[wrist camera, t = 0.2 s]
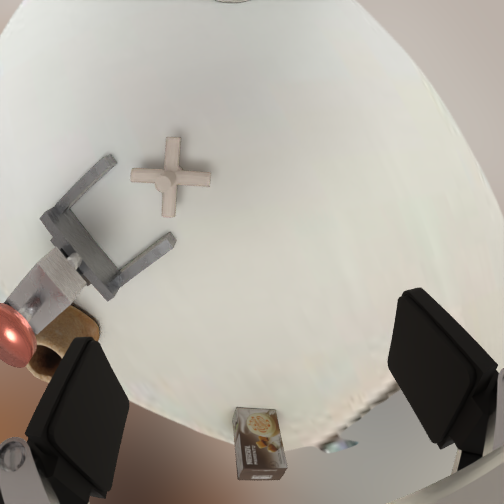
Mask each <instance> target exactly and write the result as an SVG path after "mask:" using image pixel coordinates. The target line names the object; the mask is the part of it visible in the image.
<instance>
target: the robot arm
mask: <svg viewBox="0 0 504 504" xmlns="http://www.w3.org/2000/svg"><path fill="white" fill-rule="evenodd" d="M216 1H221V2H234V3H236V2H244V1H248V0H216ZM497 366H498V364H497V363H496V362H495V361H494V360H493V359H492V358H491V357H490V356H489V355H488V354H487V352H486V351H485V350H484V349H483V348H482V347H481V346H480V345H479V344H478V343H477V342H476V341H475V340H474V339H473V338H472V337H471V336H470V335H469V333H468V332H467V331H466V330H465V329H464V328H463V327H462V326H461V325H460V324H459V323H458V322H457V321H456V320H455V319H454V318H453V317H452V316H451V315H450V314H449V313H448V312H447V311H446V310H444V309H443V308H442V307H441V306H440V305H439V304H438V303H437V302H436V301H435V300H434V299H433V298H432V297H431V296H430V295H429V294H428V293H427V292H426V291H424V290H423V289H422V288H415V289H411V290H407V291H404V292H403V294H402V296H401V297H399V299H398V303H397V310H396V317H395V323H394V329H393V335H392V340H391V346H390V351H389V356H388V367H389V370H390V372H391V373H392V375H393V377H394V378H395V380H396V382H397V383H398V385H399V386H400V388H401V390H402V391H403V393H404V395H405V396H406V398H407V400H408V402H409V403H410V405H411V407H412V408H413V410H414V412H415V414H416V415H417V417H418V419H419V420H420V422H421V424H422V425H423V427H424V429H425V431H426V433H427V434H428V437H429V438H430V440H431V441H432V442H433V443H437V445H438V446H439V448H440V449H443V448H445V447H447V446H449V445H451V444H453V443H455V444H456V446H457V448H458V449H457V453H456V458H455V462H454V466H453V469H452V473H451V475H450V476H448V477H446V478H444V479H442V480H440V481H438V482H436V483H434V484H432V485H429V486H428V487H425V488H423V489H421V490H419V491H416V492H414V493H412V494H409V495H407V496H405V497H402V498H399V499H397V500H394V501H392V502H389V503H386V504H504V368H503V369H502V370H501V371H500V373H498V372H497V370H496V368H497ZM128 410H129V400H128V397H127V396H126V394H125V392H124V390H123V388H122V387H121V385H120V383H119V381H118V379H117V377H116V375H115V373H114V372H113V370H112V368H111V366H110V364H109V362H108V360H107V358H106V356H105V354H104V352H103V349H102V347H101V345H100V343H99V342H98V341H95V340H94V338H92V337H76V338H74V339H73V341H72V342H71V344H70V346H69V348H68V349H67V351H66V353H65V355H64V356H63V358H62V360H61V362H60V364H59V365H58V367H57V369H56V371H55V373H54V375H53V377H52V378H51V380H50V382H49V384H48V386H47V388H46V390H45V392H44V394H43V396H42V398H41V400H40V402H39V404H38V406H37V408H36V410H35V412H34V414H33V416H32V419H31V421H30V423H29V425H28V427H27V430H26V432H25V435H26V436H28V441H27V442H26V441H25V440H24V439H22V438H18V437H12V438H9V439H7V440H5V441H4V442H2V444H0V504H90V503H89V497H90V496H93V497H98V498H104V499H105V498H106V494H107V491H110V489H111V487H112V482H113V477H114V472H115V467H116V462H117V457H118V453H119V448H120V444H121V439H122V435H123V430H124V427H125V422H126V418H127V414H128Z"/></svg>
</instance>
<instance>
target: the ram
mask: <svg viewBox="0 0 504 504" xmlns="http://www.w3.org/2000/svg"><path fill="white" fill-rule="evenodd" d="M81 264H82V258H81V256H80V255H79V254H77V253H72V254H71V255H70V256H69V257H68V258H67V259H66V258H65V256H64V255H63V254H62V253H61V251H60V250H59V249H58V248H57V246H56V247H55V248H53V249H52V250H51V251H50V252H49V253H48V254H46V255H45V256H44V257H43V258H42V259H41V260H40V261H38V262H37V263H36V265H35V266H34V267H33V268H32V269H31V270H30V271H29V273H28V274H27V275H26V276H25V277H24V279H23V280H22V281H21V282H20V283H19V285H18V286H17V287H16V288H15V289H14V291H13V292H12V293H11V295H10V296H9V297H8V298H7V301H8V302H9V304H10V305H11V306H12V307H13V308H12V307H11V306H9V305H7V304H3V303H0V359H1V360H2V361H4V362H6V363H7V364H9V365H11V366H14V367H17V368H21V367H25V366H26V365H27V364H28V363H29V361H30V360H31V358H32V356H33V355H34V353H35V352H36V349H37V341H36V337H35V334H34V332H35V333H36V334H38V333H39V332H40V331H42V330H43V329H44V328H45V327H46V326H47V325H48V324H49V323H50V322H51V321H53V320H54V319H55V318H56V317H57V316H58V315H59V314H60V313H62V312H63V311H64V310H65V309H66V308H67V307H68V306H69V305H71V304H72V303H73V301H74V300H75V298H76V297H77V296H78V294H79V293H80V292H81V290H82V289H83V288H84V286H85V285H86V284H87V283H86V281H85V280H84V279H83V278H82V277H81V276H80V274H79V273H78V272H77V271H76V269H77V268H78V267H79V266H80V265H81ZM33 331H34V332H33Z"/></svg>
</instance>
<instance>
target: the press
mask: <svg viewBox="0 0 504 504" xmlns="http://www.w3.org/2000/svg"><path fill="white" fill-rule="evenodd" d="M116 164H117V162H116V161H115V159H114V158H113V157H112V155H108V156H105V157H103V158H102V159H101V160H100V161H99V162H97V163H96V164H95V165H94V166H93V167H92V168H91V169H90V170H89V171H88V172H87V173H86V174H85V175H84V176H83V177H82V178H81V179H80V180H79V181H78V182H77V183H76V184H75V185H74V186H73V187H72V188H71V189H70V190H69V191H68V192H67V193H66V194H65V195H64V196H63V197H62V198H61V199H60V201H59V202H58V203H57V204H56V205H55V207H53V208H51V209H49V210H48V211H46V212H45V213H44V214H43V215H42V216H41V217H40V220H41V221H42V223H43V224H44V225H45V227H46V228H47V229H48V231H49V232H50V233H51V235H52V236H53V238H52V239H51V240H50V241H51V242H52V243H53V245H54V246H55V247H56V246H57V248H58V249H59V250H60V251H61V253H62V254H63V255H64V256H65V258H66V259H67V258H68V257H69V256H70V255H71V254H72V253H77V254H79V255H80V256H81V258H82V264H81V265H80V266H79V267H78V268H77V269H76V271H77V272H78V273H79V274H80V276H81V277H82V278H83V279H84V280H85V281H86V283H87V284H86V285H87V286H89V285H90V284H92V285H93V286H94V287H95V288H96V289H97V290H98V291H99V293H100V294H101V295H102V296H103V297H104V298H105V299H106V300H107V301H109V300H110V299H112V298H113V297H114V296H115V295H116V293H117V291H118V289H119V288H120V287H121V286H123V285H124V284H125V283H126V282H128V281H129V280H130V279H132V278H133V277H134V276H136V275H137V274H138V273H140V272H141V271H142V270H144V269H145V268H147V267H148V266H149V265H151V264H152V263H153V262H155V261H156V260H157V259H159V258H160V257H162V256H163V255H164V254H166V253H167V252H168V251H170V250H171V249H173V248H174V246H175V243H176V239H175V238H174V236H173V235H172V234H171V233H170V232H169V233H168V234H167V235H165V236H164V237H163V238H161V239H160V240H159V241H157V242H156V243H155V244H153V245H152V246H151V247H149V248H148V249H147V250H145V251H144V252H143V253H141V254H140V255H139V256H138V257H136V258H135V259H134V260H132V261H131V262H130V263H129V264H127V265H126V266H125V267H123V268H122V269H121V270H120V271H119V270H118V269H117V267H116V266H115V265H114V264H113V263H112V261H111V260H110V259H109V258H108V257H107V256H106V254H105V253H104V252H103V251H102V249H101V248H100V247H99V246H98V245H97V243H96V242H95V241H94V240H93V238H92V237H91V236H90V235H89V233H88V232H87V231H86V230H85V228H84V227H83V226H82V224H81V223H80V222H79V220H78V219H77V218H76V217H75V215H74V214H73V213H72V211H71V210H70V209H69V208H70V207H71V206H72V205H73V204H74V203H75V202H76V201H77V200H78V199H79V198H80V197H81V196H82V195H83V194H84V193H85V192H86V191H87V190H89V189H90V188H91V187H92V186H93V185H94V184H95V183H96V182H97V181H98V180H99V179H100V178H101V177H102V176H103V175H105V174H106V173H107V172H108V171H109V170H110V169H111V168H112V167H113V166H115V165H116ZM3 304H7V305H9V306H11V305H10V304H9V302H8V301H7V300H6V301H5V302H4V303H3ZM11 307H12V306H11ZM12 308H13V307H12ZM33 332H34V331H33ZM34 334H35V336H36V333H35V332H34Z"/></svg>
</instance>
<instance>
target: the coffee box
mask: <svg viewBox="0 0 504 504" xmlns="http://www.w3.org/2000/svg"><path fill="white" fill-rule="evenodd" d="M233 429H234V442H235V453H236V465H237V477H238V480H280V479H281V477H282V476H283V475H284V473H285V471H286V469H287V463H286V457H285V453H284V448H283V443H282V438H281V433H280V429H279V424H278V419H277V414H276V410H269V409H250V408H236V411H235V415H234V418H233Z"/></svg>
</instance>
